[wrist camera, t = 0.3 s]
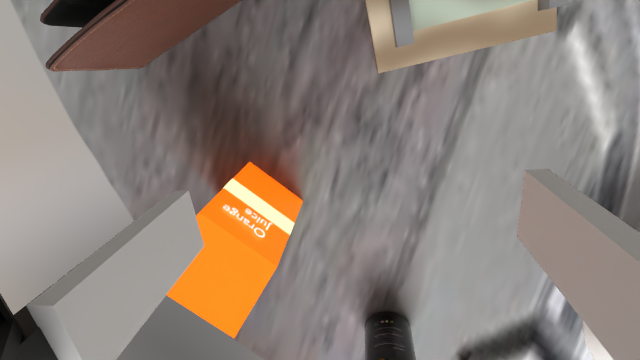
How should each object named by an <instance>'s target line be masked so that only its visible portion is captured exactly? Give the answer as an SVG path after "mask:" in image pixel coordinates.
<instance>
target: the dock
mask: <svg viewBox="0 0 640 360" xmlns="http://www.w3.org/2000/svg"><path fill="white" fill-rule="evenodd" d="M365 3H366V9H367V14H368V20H369V26H370V32H371V37H372V43H373V49H374V55H375V60H376V66H377V71H378V73H382V72H386V71H390V70H394V69H399V68H403V67H407V66H411V65H415V64H419V63H423V62H428V61H432V60H436V59H440V58H444V57H448V56H453V55H457V54H461V53H465V52H469V51H473V50H478V49H482V48H486V47H490V46H494V45H498V44H502V43H507V42H511V41H515V40H519V39H523V38H527V37H532V36H536V35H540V34H544V33H548V32H552V31H556V14H557V7H559V6H563V5H567V4H570V0H365Z"/></svg>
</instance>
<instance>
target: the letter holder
mask: <svg viewBox="0 0 640 360" xmlns="http://www.w3.org/2000/svg"><path fill="white" fill-rule="evenodd" d="M240 1H241V0H54V1H53V2H52V3H51V4H50V5H49V6H48V8H46V10H45V11H44V12H43V13H42V14H41V18H40V21H41V22H42V23H44V24H47V25H51V26H67V27H83V28H82V29H81V30H80V31H78V32H77V33H76V34H75V35H74V36H73V37H71V38H70V39H69V40H68V41H67V42H66V43H65V44H64V45H63V46H62V47H61V48H60V49H59V50H58V51H56V52H55V53H54V54H53V55H52V56H51V58H50V59H49V60H48V61H47V63H46V68H48V69H49V70H51V71H77V70H110V69H132V68H134V69H135V68H142V67H144V66H145V65H147V64H148V63H150V62H151V61H152V60H154V59H155V58H157V57H158V56H159V55H161V54H162V53H164V52H165V51H167V50H168V49H170V48H171V47H173V46H174V45H176V44H177V43H179V42H180V41H182V40H183V39H185V38H186V37H188V36H189V35H191V34H192V33H194V32H195V31H197V30H199V29H200V28H201V27H203V26H204V25H206V24H207V23H209V22H210V21H212V20H213V19H215V18H216V17H218V16H219V15H220V14H222V13H223V12H225V11H226V10H228V9H229V8H231V7H232V6H234V5H235V4H237V3H238V2H240Z"/></svg>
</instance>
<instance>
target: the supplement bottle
mask: <svg viewBox="0 0 640 360" xmlns="http://www.w3.org/2000/svg"><path fill="white" fill-rule="evenodd" d="M365 360H416V357H415V351H414V345H413V339H412V334H411V329H410V325H409V323H408V322H407V320H406V319H405V318H403V317H402V316H401V315H399V314H397V313H393V312H380V313H377V314H375V315H373V316H372V317H371V318H370V319H369V320H368V321H367V323H366V326H365Z"/></svg>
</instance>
